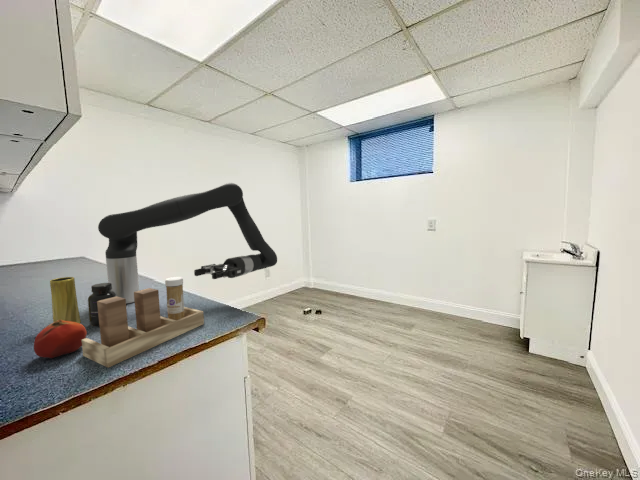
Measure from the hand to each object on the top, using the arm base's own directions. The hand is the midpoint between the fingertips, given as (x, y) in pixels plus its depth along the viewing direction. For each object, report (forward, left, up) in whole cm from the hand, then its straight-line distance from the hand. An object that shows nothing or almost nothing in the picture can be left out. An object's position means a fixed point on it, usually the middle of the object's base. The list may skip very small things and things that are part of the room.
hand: (203, 274), depth 87 cm
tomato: (-10, -33, -13) cm, 37 cm away
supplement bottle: (-22, -19, -13) cm, 32 cm away
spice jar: (+1, -11, -12) cm, 17 cm away
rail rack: (+1, -19, -13) cm, 23 cm away
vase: (-30, -25, -13) cm, 41 cm away
